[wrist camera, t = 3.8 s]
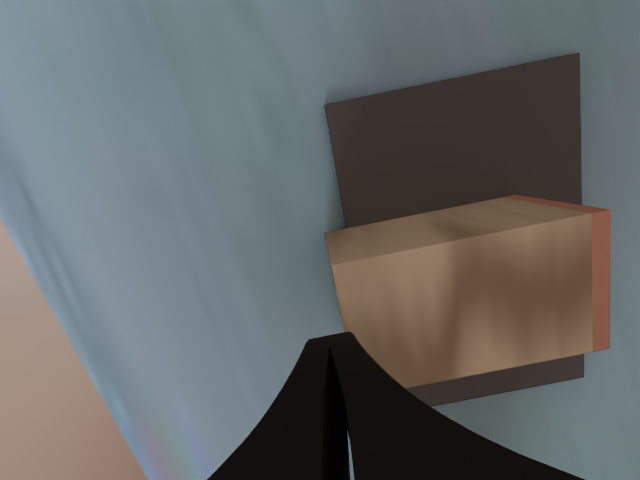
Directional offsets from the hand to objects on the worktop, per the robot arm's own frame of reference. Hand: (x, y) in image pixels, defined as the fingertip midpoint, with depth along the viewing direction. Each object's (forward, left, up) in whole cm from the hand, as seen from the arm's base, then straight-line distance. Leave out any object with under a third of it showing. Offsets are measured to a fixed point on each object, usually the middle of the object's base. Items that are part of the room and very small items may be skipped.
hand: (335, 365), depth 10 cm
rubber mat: (0, -7, -7) cm, 10 cm away
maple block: (0, 0, -4) cm, 4 cm away
